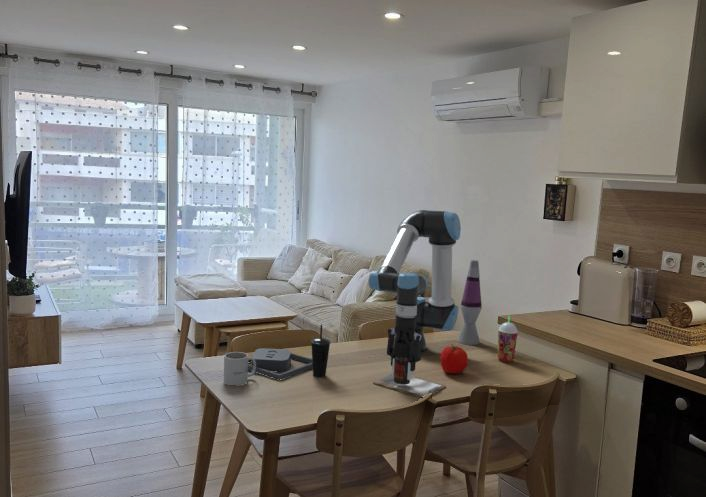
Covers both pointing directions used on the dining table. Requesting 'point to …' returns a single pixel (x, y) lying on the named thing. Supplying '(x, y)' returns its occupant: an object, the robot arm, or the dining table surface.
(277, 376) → the frame
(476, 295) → the lamp
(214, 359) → the dining table surface
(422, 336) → the robot arm
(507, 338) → the smoothie
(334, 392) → the dining table surface
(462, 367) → the tomato
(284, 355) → the streaming box
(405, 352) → the deodorant
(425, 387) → the silver rectangular panel
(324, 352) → the drinking cup
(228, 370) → the mug
